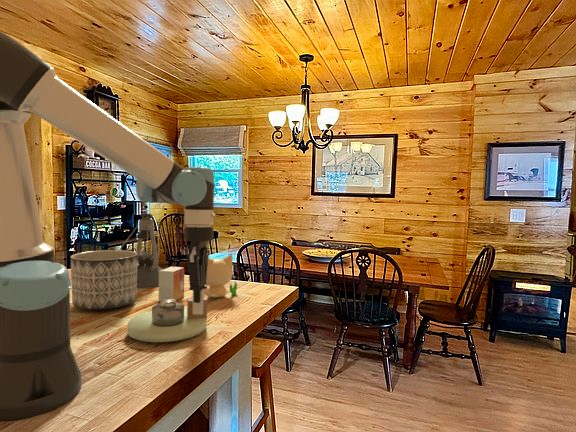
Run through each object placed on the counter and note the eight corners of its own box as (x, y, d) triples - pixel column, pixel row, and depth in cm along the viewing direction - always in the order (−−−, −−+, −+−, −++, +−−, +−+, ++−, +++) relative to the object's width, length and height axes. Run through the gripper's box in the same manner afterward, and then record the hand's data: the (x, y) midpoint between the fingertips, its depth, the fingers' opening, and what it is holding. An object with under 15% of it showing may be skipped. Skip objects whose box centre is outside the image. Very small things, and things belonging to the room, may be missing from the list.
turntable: (211, 336, 93) (212, 309, 92) (125, 346, 86) (125, 317, 85) (201, 312, 112) (201, 289, 111) (129, 318, 105) (129, 294, 104)
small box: (173, 302, 124) (173, 271, 123) (158, 301, 125) (158, 270, 124) (184, 296, 132) (184, 267, 131) (170, 295, 133) (170, 266, 132)
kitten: (230, 290, 141) (231, 251, 140) (243, 297, 132) (243, 255, 132) (192, 296, 132) (193, 254, 131) (203, 303, 124) (203, 258, 123)
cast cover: (184, 325, 95) (184, 304, 94) (151, 328, 92) (151, 306, 92) (183, 315, 102) (183, 295, 102) (152, 317, 100) (152, 297, 100)
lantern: (105, 286, 142) (104, 208, 141) (144, 276, 161) (144, 207, 159) (141, 292, 135) (141, 210, 134) (177, 280, 154) (177, 209, 152)
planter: (77, 299, 125) (76, 250, 124) (138, 295, 132) (138, 249, 131) (65, 317, 107) (64, 261, 106) (136, 311, 114) (136, 258, 113)
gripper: (206, 227, 92) (205, 321, 93) (218, 225, 105) (217, 308, 105) (176, 226, 92) (175, 320, 93) (192, 224, 105) (191, 307, 105)
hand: (198, 313), depth 99 cm, fingers closed
